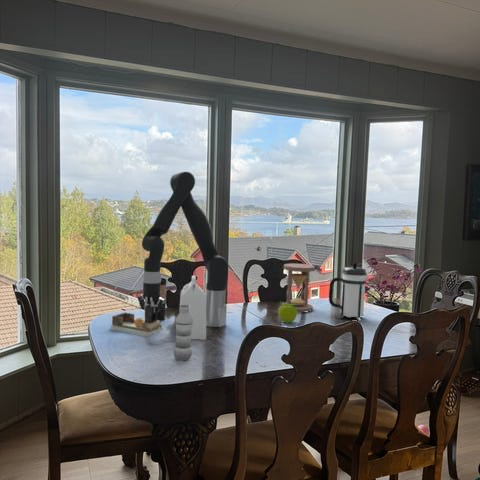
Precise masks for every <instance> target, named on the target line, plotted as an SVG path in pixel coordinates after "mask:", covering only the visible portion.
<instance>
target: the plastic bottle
mask: <svg viewBox="0 0 480 480" xmlns="http://www.w3.org/2000/svg"><path fill="white" fill-rule="evenodd" d="M178 311H180V313H178V314H177V315H176V318H175V319H174V320H175V321H174V323H175V335H176V336H175V344H174V349H173V356H174V358H175V359H176V360H178V361H186V360H190V359H191V357H192V353H193V349H192V340H191V331H192V325H193V318H192V316H191V315H190V313H189V311H190V306H188V305H181V306H180V305H179V309H178Z"/></svg>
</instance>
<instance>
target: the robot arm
mask: <svg viewBox="0 0 480 480" xmlns="http://www.w3.org/2000/svg"><path fill="white" fill-rule="evenodd" d="M169 185H170V189H171V191H172V194H171V196H170V197H169V198H168V201H166V203H165V204H164V206H163V207H162V208H161V210H160V211H159V212H158V215H157V217H156V219H155V221H154V224H152V226H151V227H150V228H149V229H148V231H147V232H146V234H145V235H144V236H143V237H142V242H141V247H142V249H143V250H145V251H146V252H149V253H148V254H149V255H148V257H145V259H144V263H143V264H144V265H143V275H142V276H143V277H142V278H143V281H142V292H143V293H142V295H139V296H137V300H138V303H139V306H140V309H141V310H143V311H144V312H145V307H146V306H149V305H151V307H152V308H153V309H152V310H153V314H152V321H155V320H156V319H157V313H158V312H159V311H161V310H162V308H163V305H164V303H165V301H166V302H167V299H166V300H165V299H162V298H161V297H160V285H161V278H162V277H161V274H162V273H161V263H162V259H163V254H164V251H165V242H164V240H163V238H162V236H163V235H166V234H167V233H168V232H169V229H170V228H171V227H172V224H173V221H174V220H175V218H176V216H177V214H178V212H179V211H180V208H181V210H182V213H183V214H184V217H185V219H186V222H187V224H188V227H189V229H190V231H191V234H192V236H193V238H194V241H195V242H196V244H197V246H198V249H200V253H201V257H202V260H203V263H204V266H205V269H206V271H207V272H208V281H207V283H206V286H205V288H206V289H205V295H206V327H209V328H212V327H213V328H221V327H223V326H226V324H227V306H228V305H226V288H227V285H228V277H229V263H228V260H227V259H226V258H224V257H223V256H221V255H220V254H219V252H218V250H217V248H216V246H215V244H214V238H213V231H212V226H211V223H210V222H209V219H208V217H207V215H206V213H205V211H204V210H203V209H202V208H201V206H199V204H198V203H197V202H196V200H195V199H194V197H193V195H192V190H193V189H194V188H195V185H196V178H195V176H194V174H192V172H189V171H181V172H178V173H175V174H173V175H172V177H170V179H169ZM158 301H159V304H158ZM154 304H155V305H154Z"/></svg>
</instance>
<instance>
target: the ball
mask: <svg viewBox="0 0 480 480" xmlns="http://www.w3.org/2000/svg"><path fill="white" fill-rule="evenodd" d="M134 320H135V322H134V323H135V325H136V326H137V327H141V322H144V319H143V318H141V317H138V318H136V319H134Z"/></svg>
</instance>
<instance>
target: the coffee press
mask: <svg viewBox="0 0 480 480" xmlns="http://www.w3.org/2000/svg"><path fill="white" fill-rule="evenodd" d="M341 273H342V277H335V278H332V279H331V281H330V283H329V290H328V301H329V304H330V305H331V306H332V307H335V308H338V309H339V310H340V315H339V316H341V317H342V316H346V317H345V318H351V317H360V316H364V309H365V308H364V307H365V295H366V294H365V293H366V284H367V280H369V279H370V277H369V275H368V272H367V271H366V269H365V268H363V267H358V264H357V262H353V263H352V266H345V267H344V268H343V270H342V271H341ZM336 282H341V294H340V304H339V303H335V301H333V294H334V293H333V292H334V284H335V283H336Z"/></svg>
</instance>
